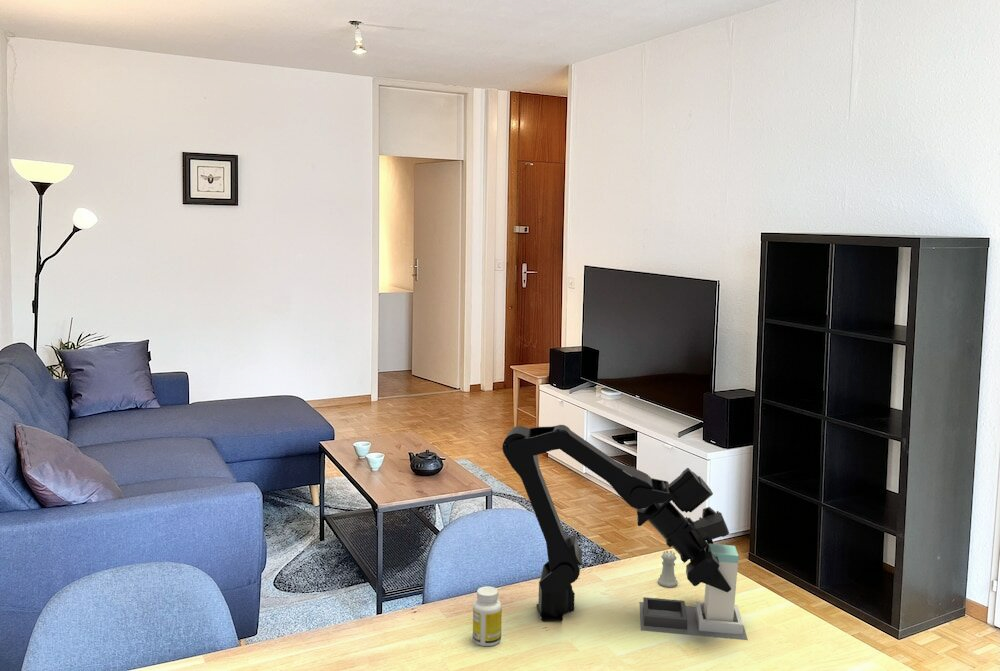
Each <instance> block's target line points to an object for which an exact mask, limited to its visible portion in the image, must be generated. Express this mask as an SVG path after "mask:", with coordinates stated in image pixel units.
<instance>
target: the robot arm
mask: <svg viewBox="0 0 1000 671" xmlns="http://www.w3.org/2000/svg"><path fill="white" fill-rule="evenodd" d="M501 446H502V447H501V448H502V453H503V455H504V456H505V458H506V460H507V462H508V463H509V465H510V466H511V468H512V470H514V471H515V473H516V474H517V475H518V476H519V478H520V479H521V482H522V484H523V487H524V490H525V491H526V494H527V497H528V499H529V502H530V505H531V508H532V509H533V510H532V511H533V513H534V514H535V517H536V519H537V523H538V525H539V527H540V531H541V532H542V536H543V538H544V540H545V545H546V552H547V559H548V561H546V562H545V563H544V564H543V566H542V570H541V575H540V579H539V581H538V601H537V602H538V603H536V605H535V606H536V609H537V611H538V614H539V617H540V620H541V621H543V622H544V621H545V622H546V621H547V622H548V621H549V622H550V621H563V618H564V615H566V614H567V613H571V612H574V611H575V597H576V596H575V594H576V593H575V592H574V589H573V586H572V584H573V583H575V582H576V581H577V580H578V578H579V577H580V573H581V565H582V560H583V550H582V549H581V547H580V546H579V543H578V537H577V535H576V534H574V535H571V536H569V535H568V534H567V532H566V531H565V529H564V528H563V525H562V522H561V520H560V517H559V515H558V512H557V510H556V507H555V504H554V501H553V499H552V496H551V493H550V492H549V489H548V486H547V484H546V481H545V478H544V476H543V473H542V471H541V469H540V462H539V455H541V454H544V453H545V454H546V453H548V452H551V451H555V450H556V451H557V450H560V451H561V452H563V453H565V454H566V455H568V456H569V457H571V458H572V459H573V460H575V461H576V462H577V463H579V464H581V465H582V466H583V467H585V468H586V469H588V470H589V471H591V472H592V473H594V474H596V475H597V476H598V477H600V478H601V479H603V480H604V481H606V483H608V484H609V485H610V486H611V488H612V489H613V490H614V491H615V492H616V494H618V496H620V498H621V499H623V500H624V502H625V503H627V505H629V507H631V508H633V509H635V510H636V515H637V517H636V521H637V526H638V527H642V526H643V525H644V524H646V523H647V522H649V523H650V525H651V527H653V528H654V529H655V530H656V531H657V532H658V533H659V534H660V535H661V537H662V538H663V539H664V540H665V543H666V545H667V546H668V547H669V548H673V549H674V550H675V551H676V553H677V554H678V555H679V557H680V560H681V561H682V562H683V564H685V563H686V562H688V561H689V562H688V563H687V564H686V566H685V567H686V568H685V572H686V573H685V574H686V578H687V579H686V580H688V581H689V583H690V584H691V585H692V586H693V587H697V586H699V585H700V584H701V583H702V584H705V585H706V584H707V585H710V586H713V587H715V588H718V589H720V590H722V591H725V592H729V591H730V590H731V587H730V586H729V584H728V582H727V581H726V579H725V578H724V576H723V575H722V573H721V572H720V570H719V569H718V568H719V566H720V565H719V560H718V557H717V556H716V557H715V556H714V554H713V553H712V552H709V551H708V548H709V544H714V540H715V539H717V538H720V537H721V538H722V537H727V536H728V535H729V534H730V531H729V528H728V526H727V523H726V521H725V519H724V516H723V514H722V512H720V511H719V510H717V511H715V510H714V509H713V508H711V507H710V506H708V507H704V508H702V513H701V515H702V516H699V517H698V519H697V520H694V521H693V520H692V519H691V517H688V516H686V517H685V516H684V515H683V514H682V513H681V512H685V513H688V512H689V513H692V512H694V511H695V510H696V509H697V508H699V507H700V506H701V505H702V504H703V503H704V502H706V501H707V500H708V499H709V498H711V497H712V496H713V494H714V493H713V490H712V489H711V488H710V487H709V485H708V484H707V483H706V481H704V479H703V478H702V477H701V476H700V475H697V473H695V472H694V471H692V470H691V469H690V468H689V467H686V468H685V469H684V470H683V471H682V472H681V473H680V474H679V476H677V477H676V478H675V479H674V480H672V481H671V482H669V481H667V480H662V479H657V478H653V477H651V476H650V475H649V474H648V473H645V472H643V471H641V470H639V469H637V468H635V467H633V466H629V465H626V464H623V463H621V462H618V461H616V460H615V459H614V458H612V457H611V456H609V455H608V454H606V453H605V452H604V451H602V450H601V449H599V448H597V447H596V446H594V445H593V444H592V443H590V442H589V441H587V440H585V439H584V438H582V437H581V436H580V435H578V434H577V433H576V432H574V431H573V430H571V429H570V428H569V427H568V426H566V425H564V424H558V425H551V426H535V427H529V428H528V427H526V426H522V425H519V426H514V427H512V428H511V429H510V430H508V432H507V435H506V437H505V438H504V441H503V442H502V445H501ZM674 505H675V506H674Z"/></svg>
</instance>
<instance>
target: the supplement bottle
mask: <svg viewBox="0 0 1000 671" xmlns="http://www.w3.org/2000/svg"><path fill="white" fill-rule="evenodd" d="M476 598H477V599H476V600H475V601H473V605H472V606H473V607H472V640H473V642H474V643H475V644H476V645H479V646H483V647H493V646H495V645H498V644H499V643H501V640H502V616H503V614H502V613H503V612H502V607H503V606H502V603H501V601H500V600H499V589H498V588H496V587H494V586H482V587H481V586H480V587H479V588H478V589H477V591H476Z"/></svg>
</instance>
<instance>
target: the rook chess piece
mask: <svg viewBox="0 0 1000 671" xmlns="http://www.w3.org/2000/svg"><path fill="white" fill-rule="evenodd" d="M661 559H662V563H661V564H662V568H661V569H662V570H661V574H660V575H659V577H658V578H657V583H658V584H659V585H660V586H661V587H664V588H674V587H676V586H678V584H679V583H678V580H677V577H676V576H675V566H676V564H675V563H676V562H675V561H676V560H677V556H676V553H675V551H671V550H670V551H669V550H664V551H663V552H662V554H661Z"/></svg>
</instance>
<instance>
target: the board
mask: <svg viewBox="0 0 1000 671" xmlns="http://www.w3.org/2000/svg"><path fill="white" fill-rule="evenodd" d="M642 599H643V601H640V602H639V619H640V621H639V622H640V623H639V625H640V626H639V627H640V631H642V632H643V631H644V632H652V633H653V632H654V633H665V634H675V635H676V634H677V635H687V636H698V637H699V636H700V637H709V638H717V639H718V638H720V639H729V640H730V639H731V640H732V639H733V640H742V641H748V640H749V639H748V636H747V633H746V629H745V626H744V623H743V619H742V615H741V613H740V610H739V606H738V605H737V604H735V605H734V616H733V622H728V621H716V620H706V618H705V614H704V602H703V601H702V602H701V601H695V606H690V605H686V603H685V600H683V599H682V600H680V599H679V600H678V599H671V598H669V599H668V598H658V597H644V596H643V598H642Z"/></svg>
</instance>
